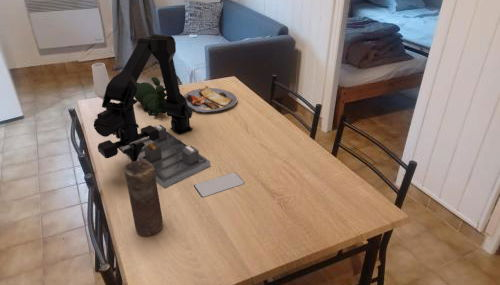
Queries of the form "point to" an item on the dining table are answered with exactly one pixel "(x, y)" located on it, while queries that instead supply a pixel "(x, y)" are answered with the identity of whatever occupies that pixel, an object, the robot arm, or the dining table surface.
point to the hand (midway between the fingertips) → (133, 163)
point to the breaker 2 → (190, 155)
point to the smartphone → (218, 184)
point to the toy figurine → (151, 97)
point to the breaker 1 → (161, 132)
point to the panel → (172, 161)
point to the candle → (144, 197)
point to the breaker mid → (152, 152)
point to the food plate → (210, 99)
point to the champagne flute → (100, 79)
